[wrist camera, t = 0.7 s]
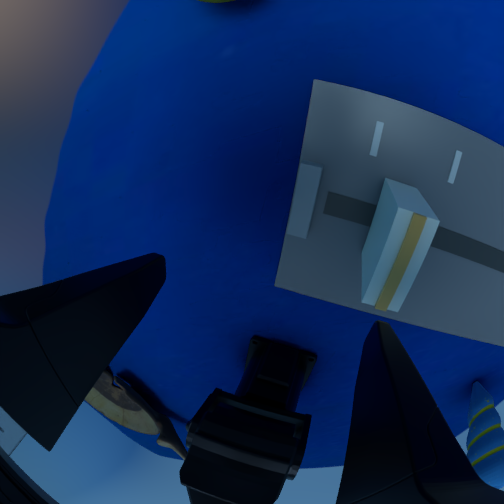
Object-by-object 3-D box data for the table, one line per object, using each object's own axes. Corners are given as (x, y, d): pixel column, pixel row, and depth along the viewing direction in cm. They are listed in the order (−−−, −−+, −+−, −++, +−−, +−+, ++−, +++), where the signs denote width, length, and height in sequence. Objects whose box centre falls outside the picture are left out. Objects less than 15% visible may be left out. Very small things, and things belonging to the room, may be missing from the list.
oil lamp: (67, 316, 41) (38, 344, 34) (216, 421, 40) (197, 459, 34) (74, 368, 53) (55, 389, 47) (183, 443, 53) (168, 469, 46)
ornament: (447, 393, 23) (449, 518, 11) (473, 363, 20) (489, 502, 8) (478, 396, 22) (486, 511, 10) (504, 368, 19) (525, 491, 7)
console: (514, 335, 18) (523, 357, 15) (280, 271, 22) (270, 294, 20) (581, 204, 10) (600, 218, 8) (317, 82, 15) (311, 77, 13)
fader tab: (390, 261, 17) (398, 314, 13) (361, 253, 17) (361, 304, 13) (416, 188, 14) (441, 223, 10) (385, 177, 15) (399, 208, 10)
